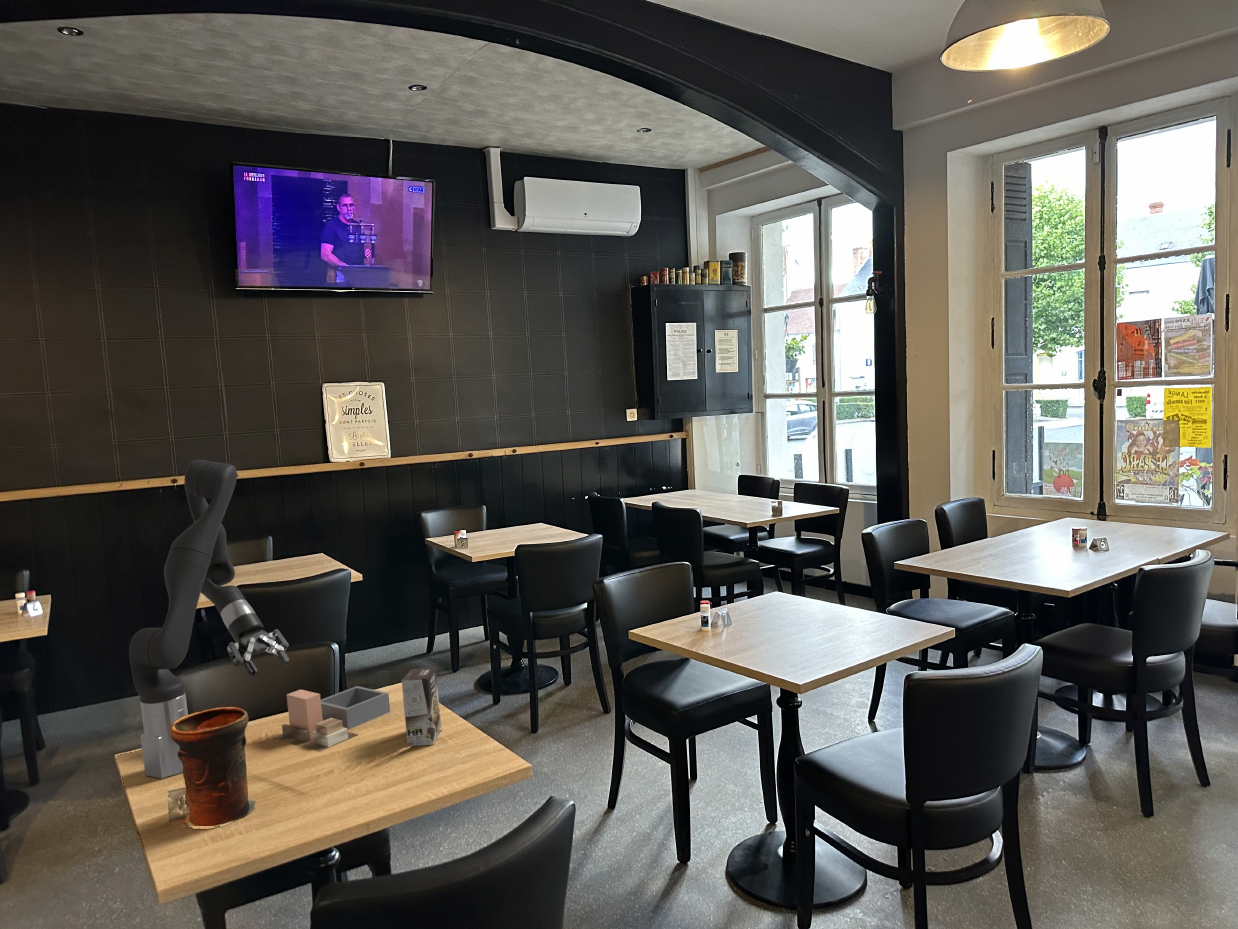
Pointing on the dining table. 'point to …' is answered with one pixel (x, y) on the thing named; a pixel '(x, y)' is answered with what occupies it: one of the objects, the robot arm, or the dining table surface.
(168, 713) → the robot arm
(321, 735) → the block
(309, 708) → the salmon pink block
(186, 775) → the vessel
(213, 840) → the dining table surface
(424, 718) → the coffee box
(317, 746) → the walnut rack
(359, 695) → the charcoal bin
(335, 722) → the upper offcut
